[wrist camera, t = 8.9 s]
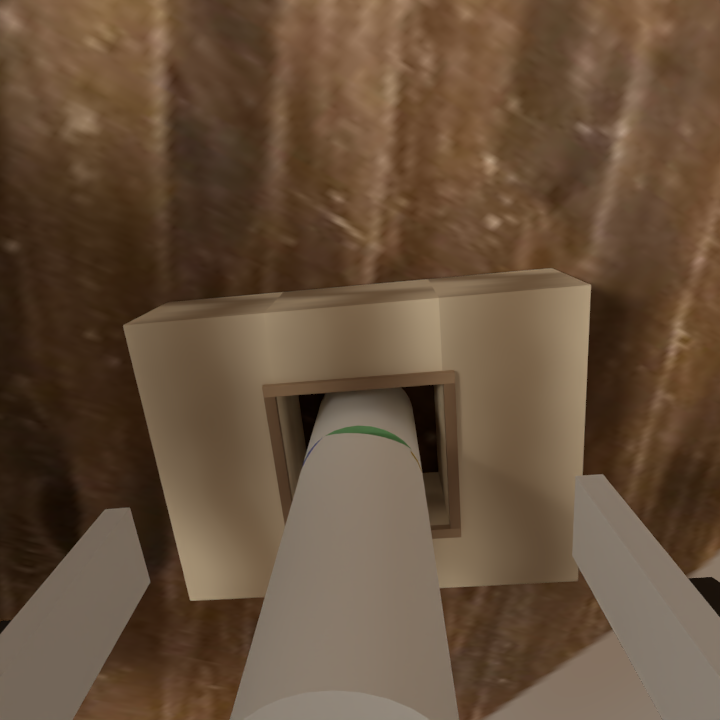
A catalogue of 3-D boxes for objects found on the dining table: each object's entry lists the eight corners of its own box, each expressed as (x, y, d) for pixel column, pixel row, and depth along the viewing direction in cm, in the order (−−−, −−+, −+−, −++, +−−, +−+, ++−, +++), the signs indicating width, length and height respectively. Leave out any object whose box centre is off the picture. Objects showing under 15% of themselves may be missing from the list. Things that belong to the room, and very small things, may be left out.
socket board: (218, 539, 25) (188, 605, 21) (167, 302, 22) (119, 327, 18) (546, 520, 24) (580, 585, 20) (551, 267, 21) (594, 286, 17)
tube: (432, 427, 23) (516, 810, 9) (356, 475, 24) (319, 892, 10) (376, 353, 22) (369, 649, 8) (299, 407, 23) (165, 759, 9)
